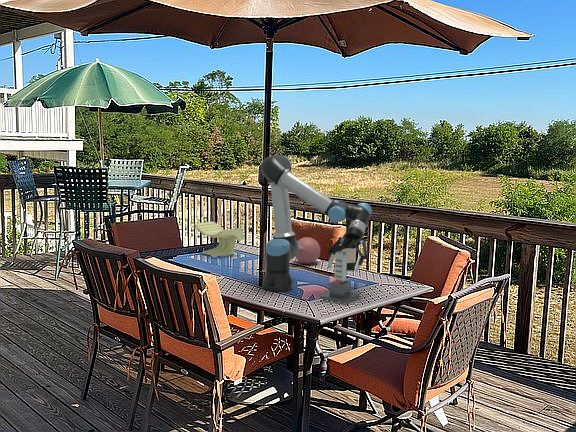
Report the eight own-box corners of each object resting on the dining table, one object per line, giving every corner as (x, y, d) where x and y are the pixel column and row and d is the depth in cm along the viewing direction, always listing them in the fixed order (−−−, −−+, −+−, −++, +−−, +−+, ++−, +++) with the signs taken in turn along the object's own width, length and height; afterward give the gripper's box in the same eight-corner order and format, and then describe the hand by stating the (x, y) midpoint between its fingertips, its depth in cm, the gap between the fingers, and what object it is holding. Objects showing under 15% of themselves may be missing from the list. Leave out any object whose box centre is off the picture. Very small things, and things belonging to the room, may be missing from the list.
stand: (333, 292, 282) (333, 274, 281) (359, 297, 275) (360, 278, 274) (319, 299, 270) (319, 281, 269) (347, 305, 263) (347, 285, 262)
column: (338, 292, 275) (339, 251, 272) (345, 294, 273) (346, 252, 270) (333, 295, 271) (334, 252, 268) (341, 296, 269) (342, 253, 266)
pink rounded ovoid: (282, 264, 338) (282, 238, 335) (307, 259, 351) (307, 233, 348) (300, 269, 326) (300, 242, 324) (325, 263, 340) (326, 237, 337)
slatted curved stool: (243, 256, 356) (243, 227, 353) (221, 260, 346) (221, 230, 343) (216, 248, 379) (216, 221, 376) (195, 251, 369) (194, 223, 366)
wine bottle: (354, 270, 324) (356, 217, 320) (339, 269, 326) (341, 216, 321) (356, 267, 333) (357, 215, 328) (341, 266, 334) (342, 214, 329)
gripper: (330, 224, 285) (315, 260, 275) (378, 229, 273) (365, 267, 263) (334, 233, 291) (320, 269, 280) (382, 238, 278) (369, 276, 268)
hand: (342, 268), depth 271 cm, fingers open, 13 cm apart
